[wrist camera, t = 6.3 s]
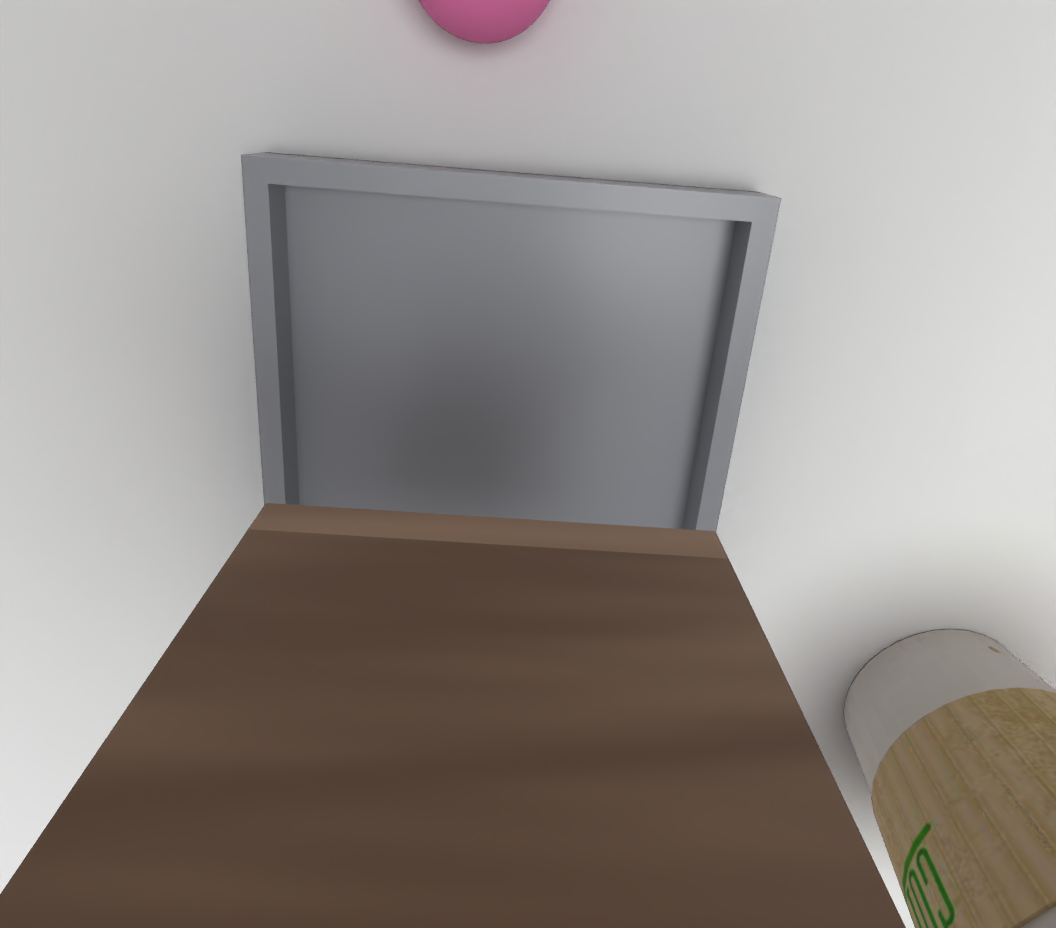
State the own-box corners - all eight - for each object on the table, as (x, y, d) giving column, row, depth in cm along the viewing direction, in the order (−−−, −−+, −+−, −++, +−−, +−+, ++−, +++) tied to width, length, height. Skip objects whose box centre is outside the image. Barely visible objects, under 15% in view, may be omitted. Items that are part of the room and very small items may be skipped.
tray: (266, 152, 20) (240, 155, 18) (757, 191, 21) (781, 198, 19) (292, 629, 26) (275, 667, 24) (673, 651, 27) (685, 690, 25)
